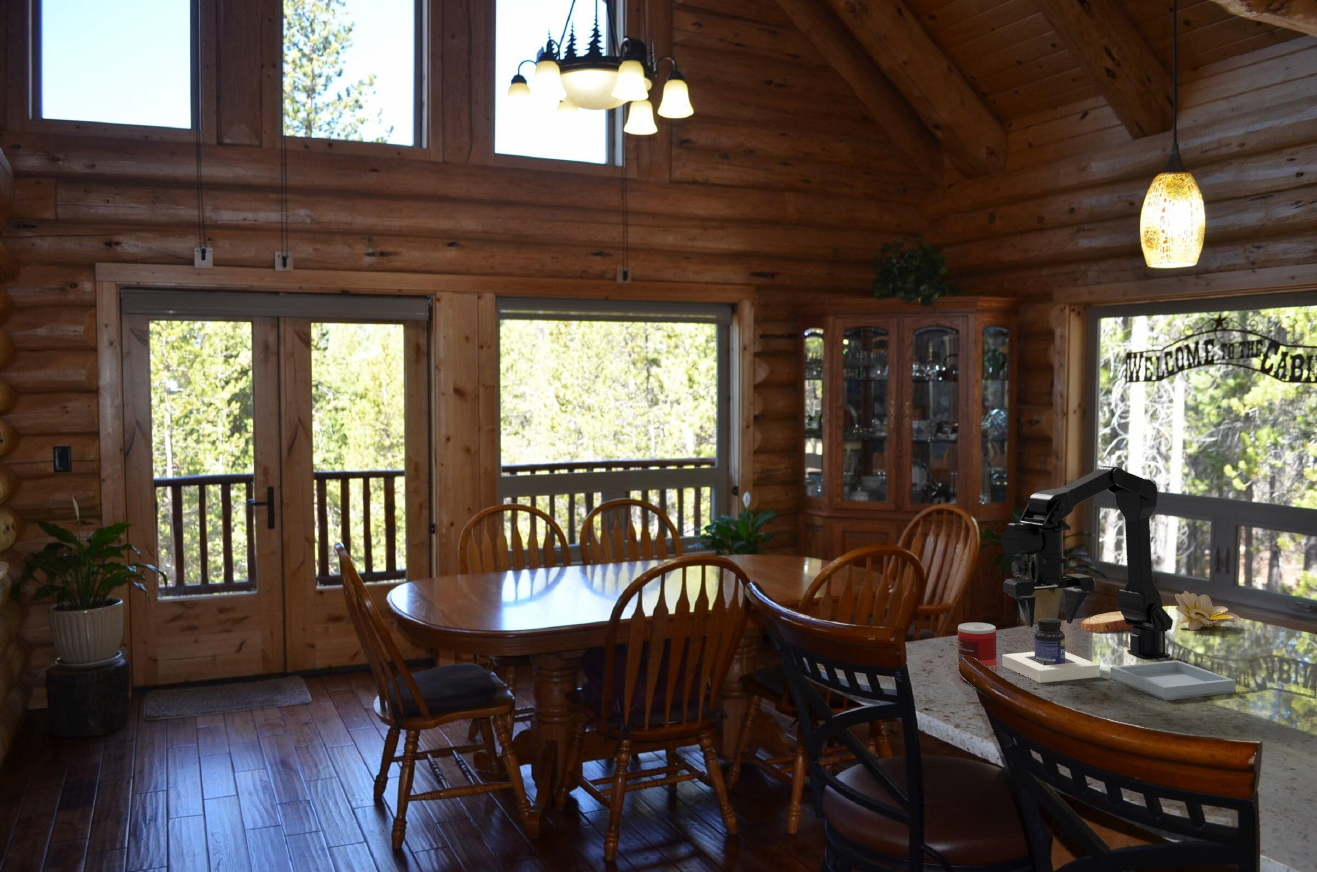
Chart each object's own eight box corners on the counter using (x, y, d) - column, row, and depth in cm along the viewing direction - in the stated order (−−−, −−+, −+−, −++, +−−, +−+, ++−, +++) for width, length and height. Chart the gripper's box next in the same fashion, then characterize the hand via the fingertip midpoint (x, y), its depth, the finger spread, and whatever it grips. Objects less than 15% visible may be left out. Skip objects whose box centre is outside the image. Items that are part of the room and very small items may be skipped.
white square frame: (1059, 660, 230) (1059, 649, 230) (1099, 676, 216) (1099, 664, 216) (1002, 665, 227) (1002, 654, 227) (1039, 682, 213) (1039, 670, 213)
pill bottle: (1067, 675, 218) (1067, 623, 218) (1037, 674, 219) (1036, 622, 219) (1062, 667, 224) (1061, 617, 224) (1032, 667, 225) (1032, 616, 225)
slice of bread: (1080, 633, 256) (1079, 618, 256) (1082, 618, 272) (1082, 604, 272) (1161, 638, 249) (1160, 622, 248) (1158, 622, 265) (1158, 607, 265)
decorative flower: (1204, 630, 246) (1197, 587, 249) (1165, 632, 257) (1159, 591, 259) (1249, 627, 252) (1242, 586, 254) (1210, 629, 262) (1203, 590, 264)
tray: (1177, 672, 218) (1177, 660, 218) (1235, 692, 203) (1235, 680, 202) (1110, 678, 215) (1110, 666, 214) (1164, 700, 199) (1164, 687, 199)
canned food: (997, 674, 220) (996, 623, 220) (996, 684, 213) (995, 631, 212) (959, 672, 223) (958, 621, 222) (957, 682, 215) (956, 629, 215)
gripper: (1064, 544, 231) (1065, 614, 231) (988, 549, 226) (989, 620, 227) (1096, 551, 220) (1097, 624, 220) (1017, 557, 216) (1018, 631, 216)
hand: (1049, 625), depth 221 cm, fingers open, 9 cm apart
